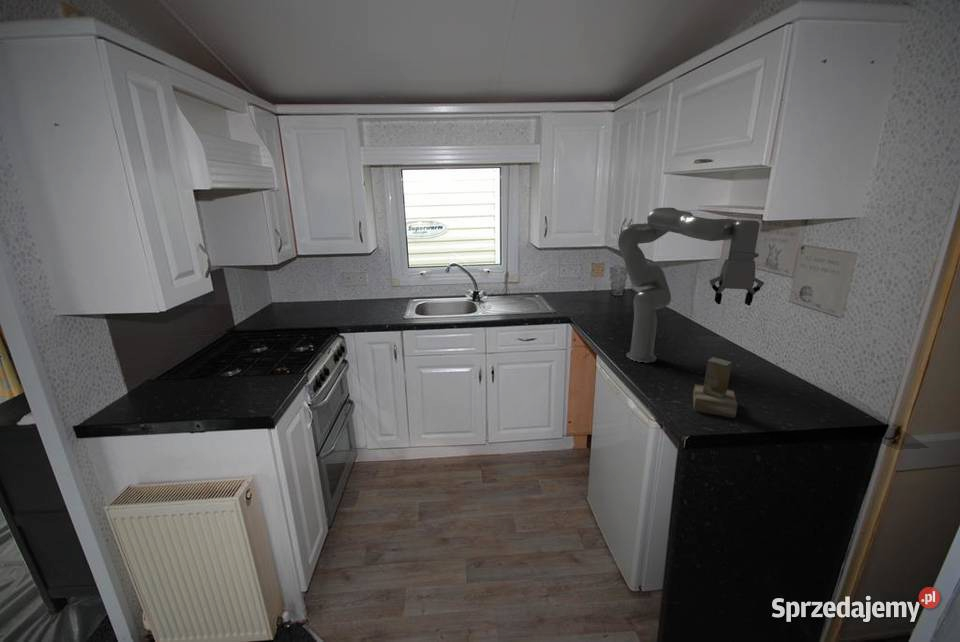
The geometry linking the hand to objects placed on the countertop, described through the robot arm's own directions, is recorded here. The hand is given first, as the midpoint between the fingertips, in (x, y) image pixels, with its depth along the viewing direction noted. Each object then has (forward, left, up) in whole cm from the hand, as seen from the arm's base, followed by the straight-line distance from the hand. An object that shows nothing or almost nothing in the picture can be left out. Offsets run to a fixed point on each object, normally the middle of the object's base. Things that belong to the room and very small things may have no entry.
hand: (732, 303), depth 145 cm
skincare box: (+18, -7, -28) cm, 34 cm away
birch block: (+18, -7, -33) cm, 38 cm away
